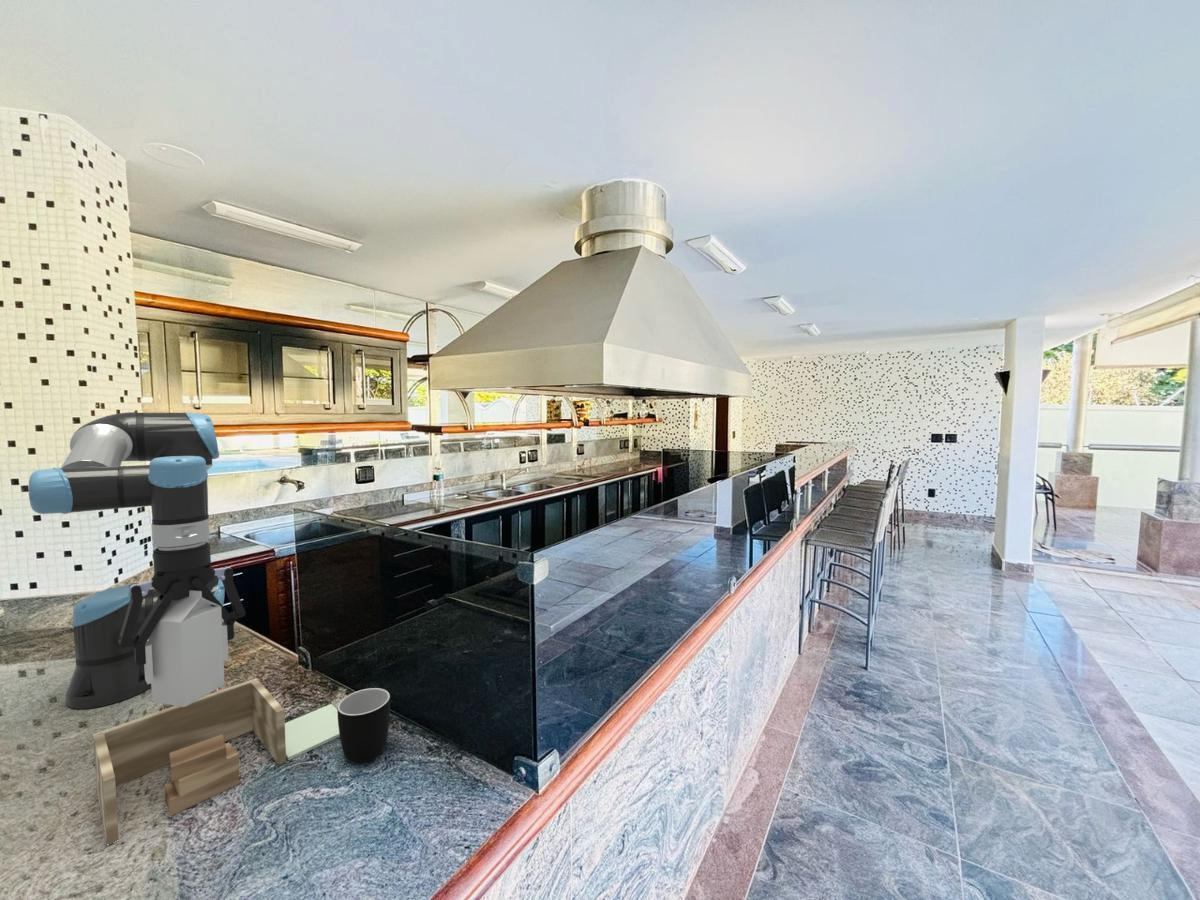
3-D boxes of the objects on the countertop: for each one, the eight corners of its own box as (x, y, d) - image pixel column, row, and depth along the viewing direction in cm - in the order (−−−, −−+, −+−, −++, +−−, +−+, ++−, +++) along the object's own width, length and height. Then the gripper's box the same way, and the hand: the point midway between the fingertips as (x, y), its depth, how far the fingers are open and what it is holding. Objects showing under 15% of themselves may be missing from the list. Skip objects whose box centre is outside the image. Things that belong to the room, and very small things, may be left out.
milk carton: (184, 708, 82) (179, 598, 80) (151, 702, 83) (145, 595, 82) (225, 685, 89) (220, 584, 87) (193, 681, 90) (189, 581, 89)
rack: (96, 790, 82) (93, 733, 81) (258, 724, 100) (256, 678, 99) (107, 846, 71) (103, 781, 71) (286, 761, 89) (284, 709, 88)
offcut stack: (164, 799, 80) (162, 755, 80) (232, 769, 87) (230, 728, 87) (171, 817, 76) (168, 771, 76) (241, 783, 84) (239, 741, 83)
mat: (267, 733, 97) (267, 730, 97) (331, 706, 106) (331, 703, 106) (288, 760, 89) (288, 757, 89) (355, 729, 98) (355, 726, 98)
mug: (401, 746, 93) (400, 696, 93) (357, 775, 86) (356, 720, 85) (362, 726, 99) (361, 679, 99) (319, 752, 92) (317, 700, 91)
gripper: (92, 563, 73) (100, 705, 75) (263, 536, 90) (268, 652, 92) (88, 554, 78) (96, 687, 79) (251, 530, 95) (255, 640, 96)
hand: (188, 668), depth 86 cm, fingers closed on milk carton, 9 cm apart
